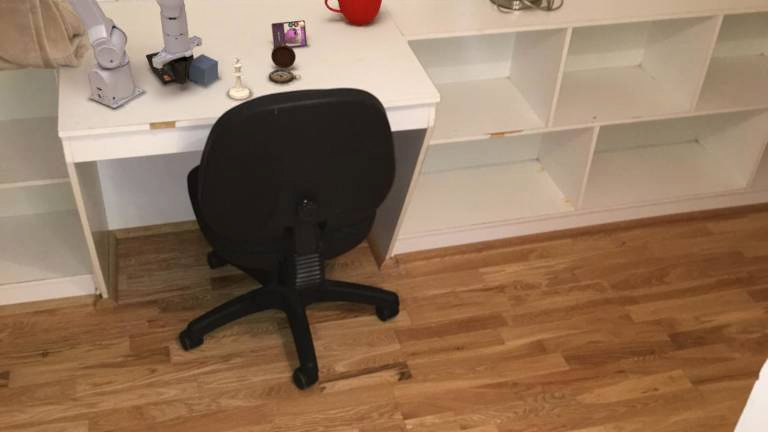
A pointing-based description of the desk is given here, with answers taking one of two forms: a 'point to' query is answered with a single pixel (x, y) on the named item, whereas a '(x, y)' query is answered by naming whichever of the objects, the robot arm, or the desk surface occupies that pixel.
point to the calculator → (162, 70)
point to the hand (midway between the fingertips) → (181, 82)
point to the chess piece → (238, 82)
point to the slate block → (203, 70)
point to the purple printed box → (288, 33)
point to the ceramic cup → (358, 10)
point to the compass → (282, 64)
